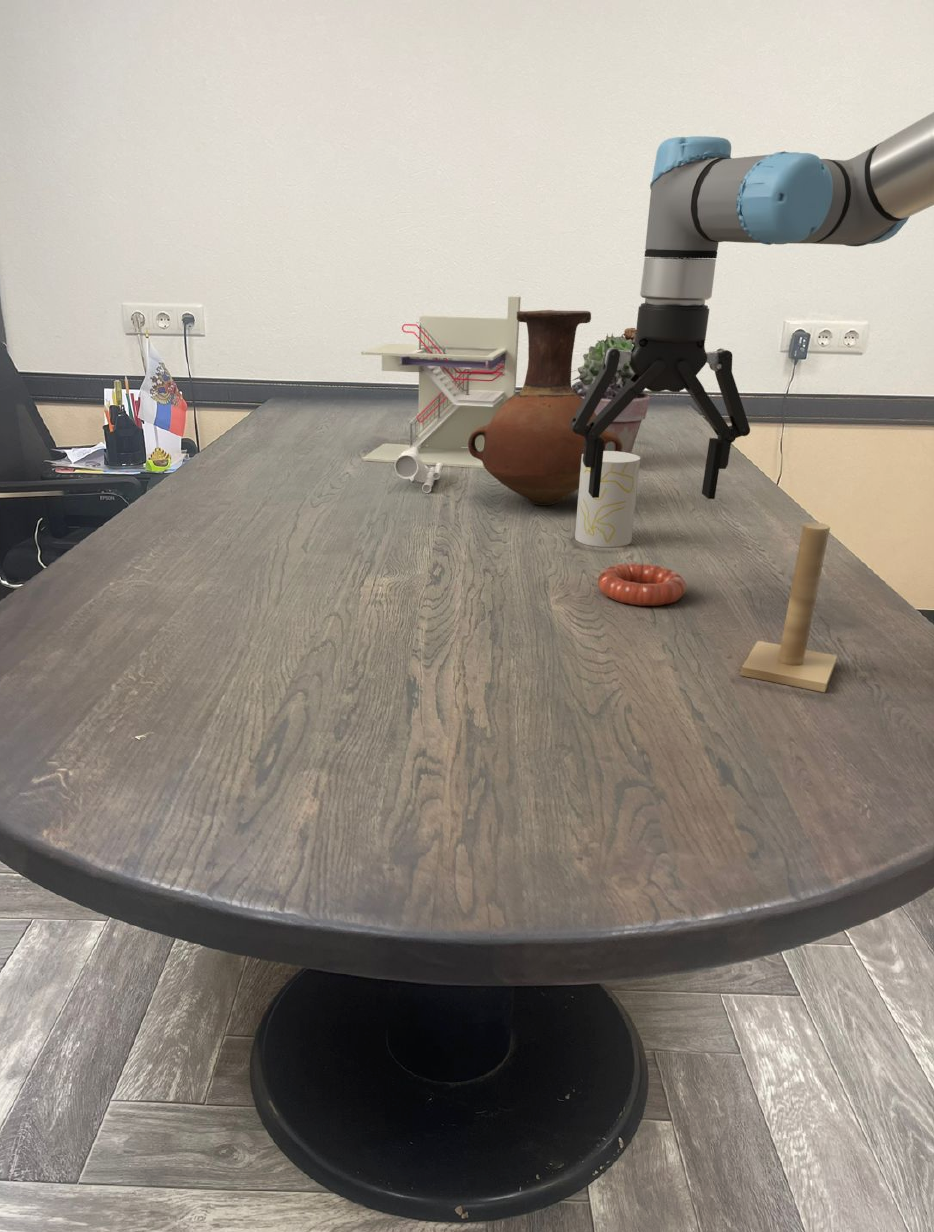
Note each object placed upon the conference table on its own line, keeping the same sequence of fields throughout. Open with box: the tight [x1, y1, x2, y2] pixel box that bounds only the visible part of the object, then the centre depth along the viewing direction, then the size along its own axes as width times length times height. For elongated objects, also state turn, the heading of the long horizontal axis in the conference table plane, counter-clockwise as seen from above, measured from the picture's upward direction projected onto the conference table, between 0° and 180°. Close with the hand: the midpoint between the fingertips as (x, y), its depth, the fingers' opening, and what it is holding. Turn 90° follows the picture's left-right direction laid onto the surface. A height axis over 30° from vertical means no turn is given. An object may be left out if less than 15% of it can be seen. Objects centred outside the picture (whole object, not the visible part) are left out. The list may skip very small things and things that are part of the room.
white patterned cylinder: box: [574, 451, 641, 548], centre depth 136 cm, size 8×8×12 cm
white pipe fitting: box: [394, 447, 444, 494], centre depth 169 cm, size 8×14×5 cm
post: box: [740, 521, 839, 693], centre depth 93 cm, size 8×8×15 cm
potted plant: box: [571, 327, 659, 454], centre depth 182 cm, size 18×20×25 cm
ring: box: [597, 563, 687, 607], centre depth 116 cm, size 10×10×3 cm
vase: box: [468, 309, 622, 506], centre depth 152 cm, size 25×20×30 cm
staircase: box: [360, 296, 521, 469], centre depth 184 cm, size 28×18×30 cm, turn 76°
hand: (650, 495), depth 112 cm, fingers open, 13 cm apart
